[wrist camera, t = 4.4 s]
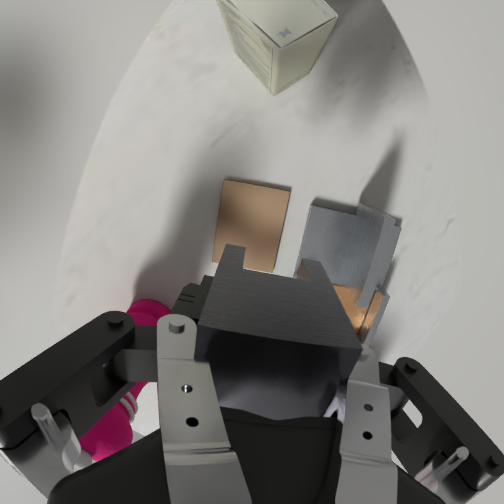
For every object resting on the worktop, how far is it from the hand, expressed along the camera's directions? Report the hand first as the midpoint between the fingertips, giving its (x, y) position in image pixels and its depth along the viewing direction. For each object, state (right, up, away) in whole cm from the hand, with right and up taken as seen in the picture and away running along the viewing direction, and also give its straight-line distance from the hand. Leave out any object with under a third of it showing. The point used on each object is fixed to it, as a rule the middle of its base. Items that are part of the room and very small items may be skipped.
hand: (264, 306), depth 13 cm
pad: (-1, +5, +14) cm, 15 cm away
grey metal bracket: (+9, 0, +16) cm, 18 cm away
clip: (0, 0, +1) cm, 1 cm away
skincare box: (+1, +20, +9) cm, 22 cm away
